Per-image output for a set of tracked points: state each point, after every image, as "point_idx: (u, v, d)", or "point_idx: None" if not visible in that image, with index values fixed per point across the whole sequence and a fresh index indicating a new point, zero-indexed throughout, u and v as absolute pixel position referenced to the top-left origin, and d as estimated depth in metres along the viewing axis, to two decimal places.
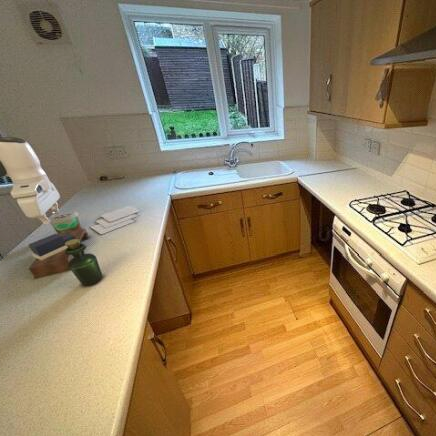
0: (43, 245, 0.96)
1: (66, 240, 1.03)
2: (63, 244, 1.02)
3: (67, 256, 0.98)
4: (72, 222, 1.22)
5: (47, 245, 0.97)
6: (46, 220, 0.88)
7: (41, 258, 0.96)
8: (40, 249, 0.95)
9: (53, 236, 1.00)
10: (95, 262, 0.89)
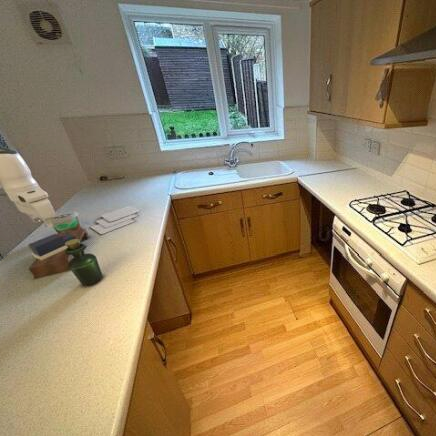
0: (43, 245, 0.96)
1: (66, 240, 1.03)
2: (63, 244, 1.02)
3: (67, 256, 0.98)
4: (72, 222, 1.22)
5: (47, 245, 0.97)
6: (50, 223, 0.94)
7: (41, 258, 0.96)
8: (40, 249, 0.95)
9: (53, 236, 1.00)
10: (95, 262, 0.89)
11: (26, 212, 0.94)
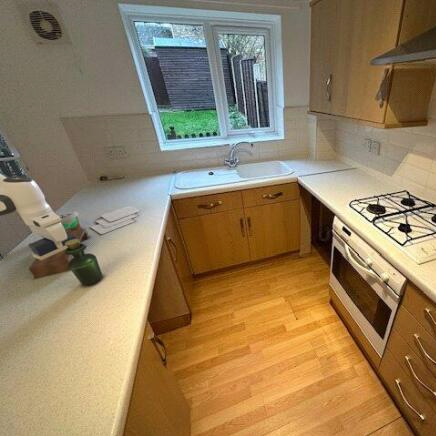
0: (43, 245, 0.96)
1: (66, 240, 1.03)
2: (63, 244, 1.02)
3: (67, 256, 0.98)
4: (72, 222, 1.22)
5: (47, 245, 0.97)
6: (60, 243, 1.00)
7: (41, 258, 0.96)
8: (40, 249, 0.95)
9: None
10: (95, 262, 0.89)
11: (39, 234, 0.99)
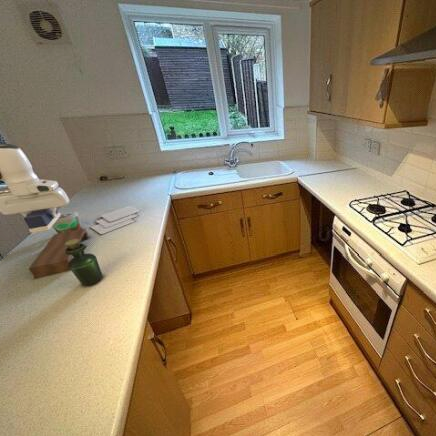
0: (44, 214, 0.94)
1: None
2: None
3: (67, 256, 0.98)
4: (72, 222, 1.22)
5: (46, 215, 0.96)
6: (55, 213, 0.99)
7: (48, 227, 0.95)
8: (44, 218, 0.94)
9: None
10: (95, 262, 0.89)
11: (24, 209, 0.93)
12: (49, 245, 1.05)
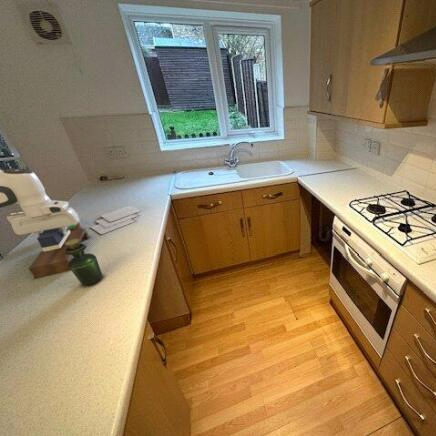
0: (56, 233, 0.99)
1: None
2: None
3: (67, 256, 0.98)
4: None
5: (58, 234, 1.00)
6: None
7: (60, 246, 0.99)
8: (56, 237, 0.98)
9: None
10: (95, 262, 0.89)
11: (37, 229, 0.98)
12: None
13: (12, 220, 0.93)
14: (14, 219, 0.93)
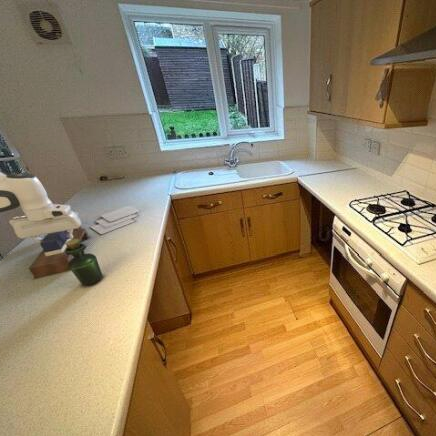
0: (58, 238, 1.00)
1: (66, 234, 1.07)
2: (66, 238, 1.06)
3: (67, 256, 0.98)
4: None
5: (60, 239, 1.01)
6: (71, 234, 1.05)
7: (62, 250, 1.00)
8: (58, 242, 1.00)
9: (54, 233, 1.03)
10: (95, 262, 0.89)
11: (39, 233, 0.98)
12: None
13: (14, 224, 0.94)
14: (16, 223, 0.94)
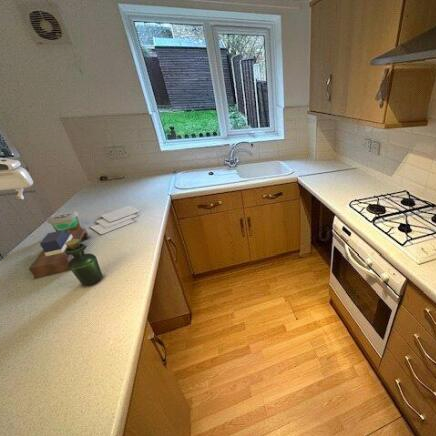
0: (58, 238, 1.00)
1: (66, 234, 1.07)
2: (66, 238, 1.06)
3: (67, 256, 0.98)
4: (72, 222, 1.22)
5: (60, 239, 1.01)
6: None
7: (62, 250, 1.00)
8: (58, 242, 1.00)
9: (54, 233, 1.03)
10: (95, 262, 0.89)
11: None
12: None
13: None
14: None
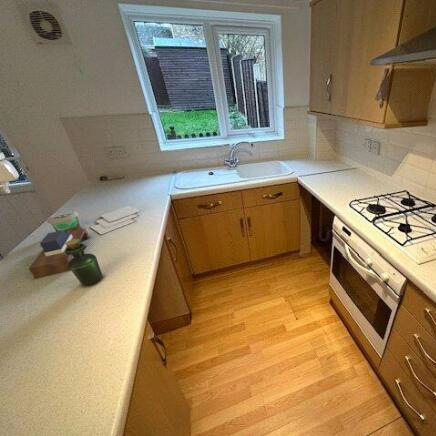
0: (58, 238, 1.00)
1: (66, 234, 1.07)
2: (66, 238, 1.06)
3: (67, 256, 0.98)
4: (72, 222, 1.22)
5: (60, 239, 1.01)
6: None
7: (62, 250, 1.00)
8: (58, 242, 1.00)
9: (54, 233, 1.03)
10: (95, 262, 0.89)
11: None
12: None
13: None
14: None
